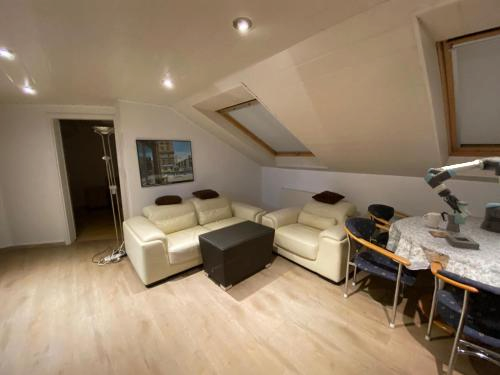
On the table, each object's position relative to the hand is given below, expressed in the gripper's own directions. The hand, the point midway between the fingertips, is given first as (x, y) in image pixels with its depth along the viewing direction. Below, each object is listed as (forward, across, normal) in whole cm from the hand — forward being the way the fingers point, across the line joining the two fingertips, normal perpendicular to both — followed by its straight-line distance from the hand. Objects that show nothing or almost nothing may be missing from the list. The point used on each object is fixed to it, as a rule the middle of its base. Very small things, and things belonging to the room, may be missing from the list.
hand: (467, 216), depth 155 cm
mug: (-6, -23, -38) cm, 44 cm away
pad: (+5, -6, -26) cm, 27 cm away
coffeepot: (+4, -24, -27) cm, 37 cm away
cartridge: (+2, 0, -7) cm, 8 cm away
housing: (+15, +2, -16) cm, 22 cm away
